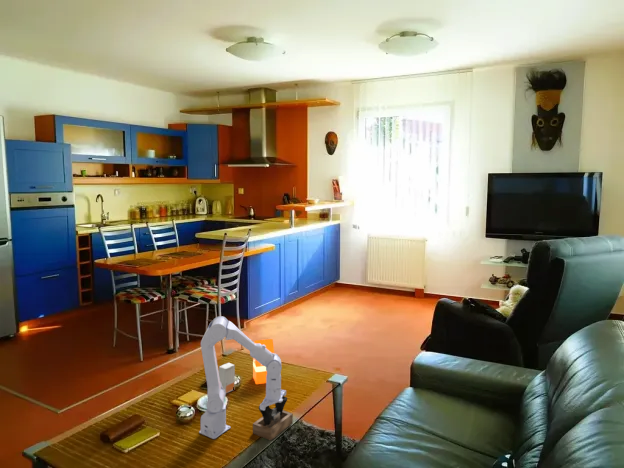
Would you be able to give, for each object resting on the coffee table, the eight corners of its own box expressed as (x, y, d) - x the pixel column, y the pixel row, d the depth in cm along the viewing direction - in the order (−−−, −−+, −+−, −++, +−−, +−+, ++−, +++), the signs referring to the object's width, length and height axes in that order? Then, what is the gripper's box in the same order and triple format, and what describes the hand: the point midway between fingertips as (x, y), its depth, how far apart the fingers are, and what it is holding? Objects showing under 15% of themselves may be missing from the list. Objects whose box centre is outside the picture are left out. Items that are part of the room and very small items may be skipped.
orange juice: (252, 377, 227) (253, 337, 224) (270, 375, 229) (271, 335, 226) (255, 384, 219) (256, 343, 216) (274, 382, 222) (274, 341, 219)
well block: (270, 440, 175) (270, 430, 174) (252, 433, 179) (252, 423, 179) (292, 423, 187) (292, 413, 187) (275, 416, 192) (275, 407, 191)
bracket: (273, 430, 181) (274, 413, 179) (265, 427, 183) (265, 410, 182) (279, 426, 184) (280, 408, 183) (271, 422, 186) (271, 406, 185)
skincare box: (225, 394, 209) (224, 369, 207) (218, 391, 211) (218, 366, 210) (235, 389, 214) (235, 364, 212) (228, 386, 216) (228, 362, 214)
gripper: (270, 397, 173) (270, 431, 175) (292, 382, 185) (292, 414, 187) (255, 392, 176) (255, 425, 178) (278, 377, 188) (277, 409, 190)
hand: (273, 419), depth 183 cm, fingers open, 7 cm apart
